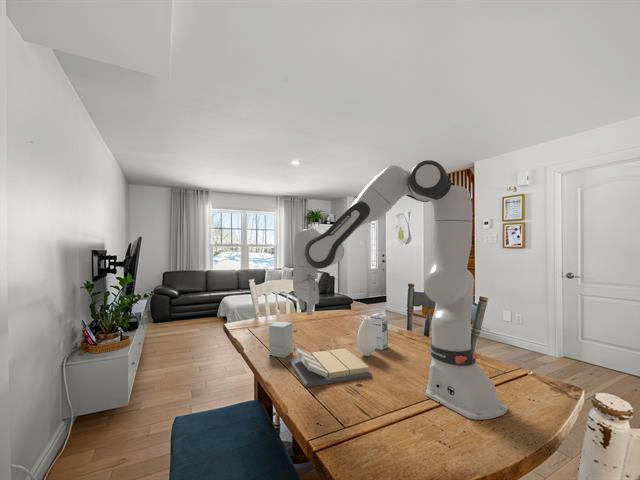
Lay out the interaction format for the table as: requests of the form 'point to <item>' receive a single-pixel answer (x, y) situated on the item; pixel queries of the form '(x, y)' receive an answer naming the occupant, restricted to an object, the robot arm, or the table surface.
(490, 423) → the table surface
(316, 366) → the whitewashed plank
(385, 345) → the syrup box
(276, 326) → the supplement box
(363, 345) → the sauce bottle
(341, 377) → the floor panel
